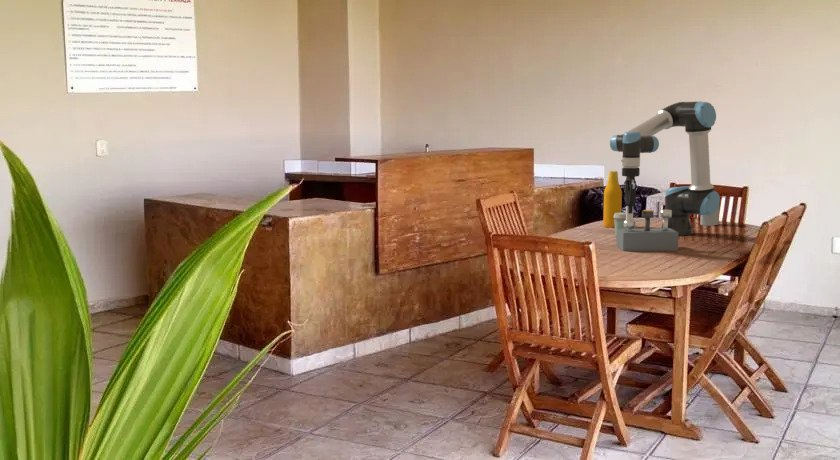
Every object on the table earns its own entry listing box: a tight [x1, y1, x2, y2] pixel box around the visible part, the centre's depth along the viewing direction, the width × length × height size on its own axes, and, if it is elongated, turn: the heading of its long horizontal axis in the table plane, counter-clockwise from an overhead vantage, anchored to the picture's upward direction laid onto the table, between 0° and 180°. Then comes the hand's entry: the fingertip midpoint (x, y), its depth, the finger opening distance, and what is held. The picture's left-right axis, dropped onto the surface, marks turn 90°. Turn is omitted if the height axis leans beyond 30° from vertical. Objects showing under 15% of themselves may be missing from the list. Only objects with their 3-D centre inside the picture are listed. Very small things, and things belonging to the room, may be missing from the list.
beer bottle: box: [602, 170, 623, 229], centre depth 454 cm, size 9×9×29 cm
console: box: [616, 227, 679, 252], centre depth 387 cm, size 24×12×8 cm, turn 90°
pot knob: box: [641, 209, 655, 231], centre depth 386 cm, size 5×5×12 cm
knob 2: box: [659, 209, 672, 231], centre depth 386 cm, size 5×5×12 cm
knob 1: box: [624, 220, 636, 231], centre depth 386 cm, size 5×5×12 cm
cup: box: [699, 205, 720, 227], centre depth 458 cm, size 9×9×12 cm
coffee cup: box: [614, 211, 627, 239], centre depth 416 cm, size 8×8×12 cm
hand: (629, 220), depth 386 cm, fingers closed
